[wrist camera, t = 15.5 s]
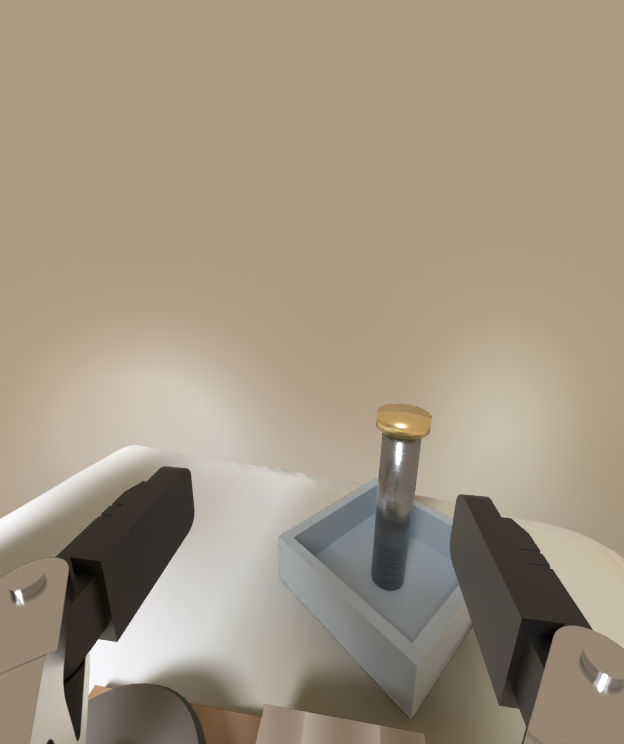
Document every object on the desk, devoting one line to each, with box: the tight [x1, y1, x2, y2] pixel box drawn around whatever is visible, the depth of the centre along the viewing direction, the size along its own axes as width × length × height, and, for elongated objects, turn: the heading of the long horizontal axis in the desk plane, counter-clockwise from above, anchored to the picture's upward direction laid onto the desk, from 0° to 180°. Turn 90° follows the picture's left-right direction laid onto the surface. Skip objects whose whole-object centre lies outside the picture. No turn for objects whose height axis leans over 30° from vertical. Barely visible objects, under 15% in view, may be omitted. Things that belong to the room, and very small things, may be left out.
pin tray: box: [279, 478, 473, 720], centre depth 32 cm, size 15×15×5 cm
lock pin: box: [371, 404, 432, 591], centre depth 30 cm, size 4×4×17 cm
